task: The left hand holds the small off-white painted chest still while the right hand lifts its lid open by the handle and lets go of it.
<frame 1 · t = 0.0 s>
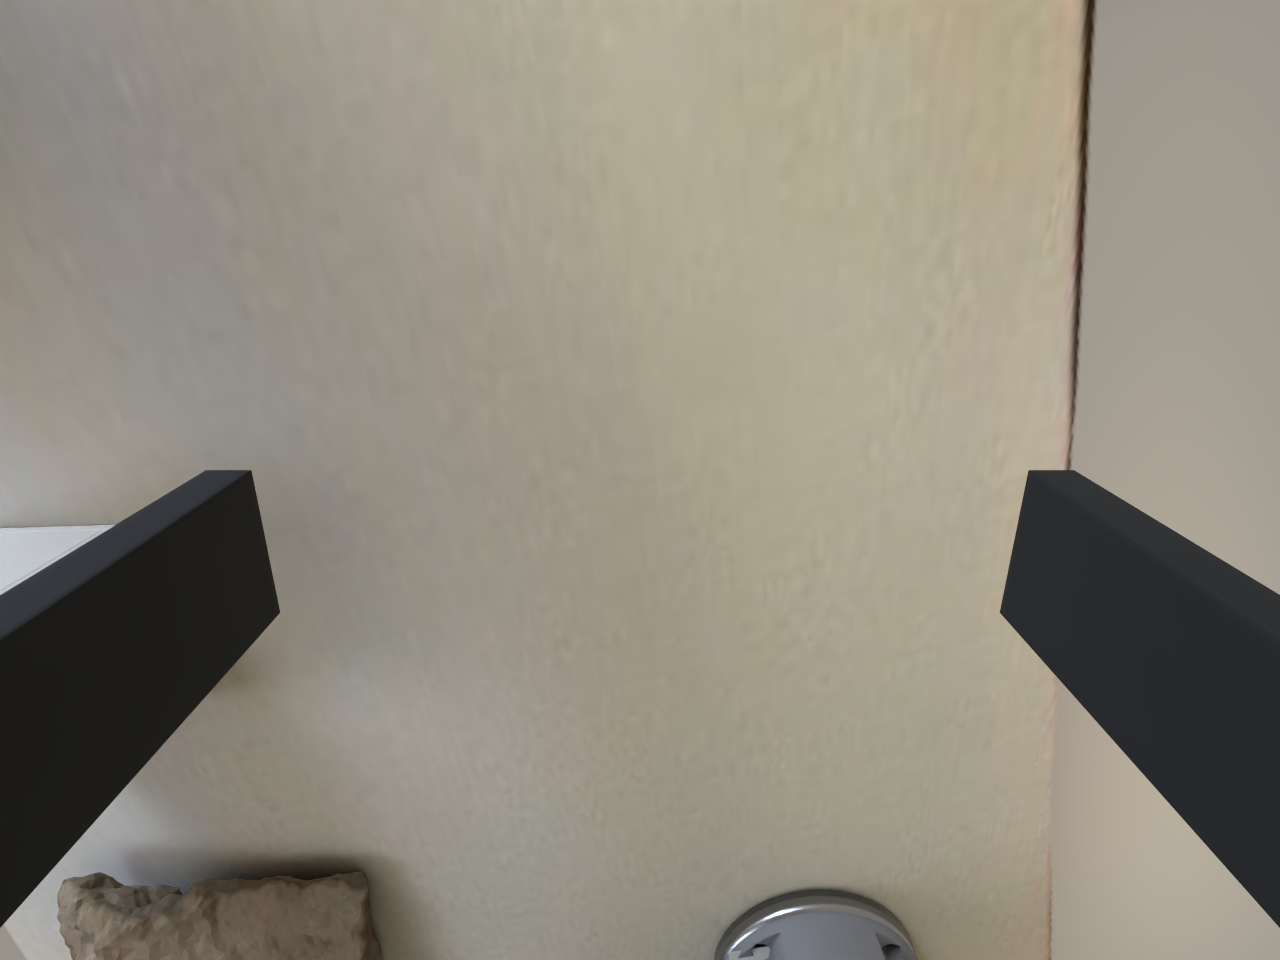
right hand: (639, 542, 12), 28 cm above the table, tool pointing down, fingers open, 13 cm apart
stone: (247, 922, 55), on the table
chest: (80, 618, 45), on the table
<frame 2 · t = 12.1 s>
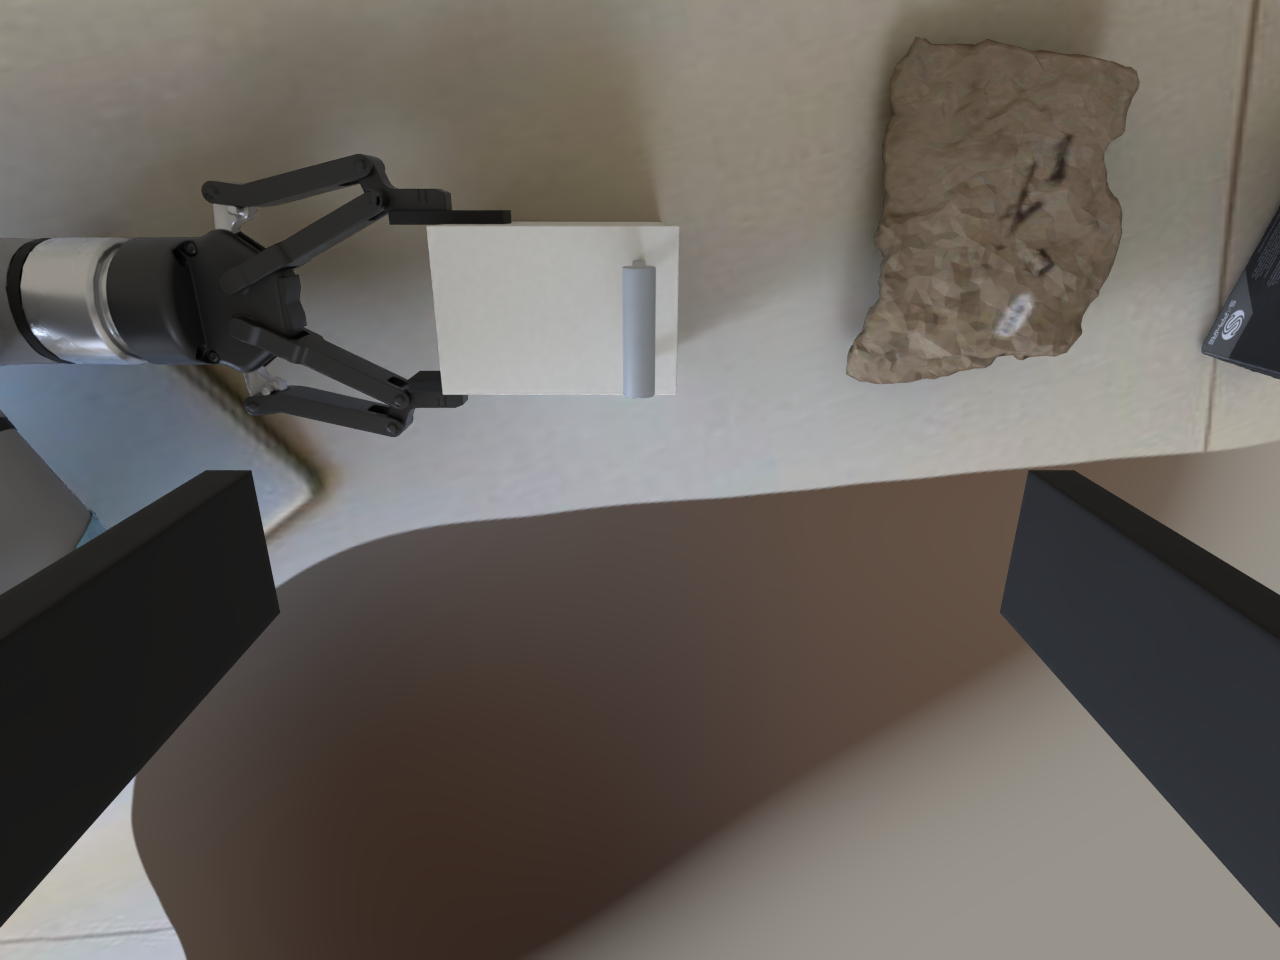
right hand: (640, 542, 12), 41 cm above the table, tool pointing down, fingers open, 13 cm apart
left hand: (512, 302, 44), fingers closed on chest, 9 cm apart
stone: (960, 222, 49), on the table
chest: (569, 290, 51), on the table, touching left hand
lid: (549, 322, 37), point 15 cm above the table, hinge at 0.0°
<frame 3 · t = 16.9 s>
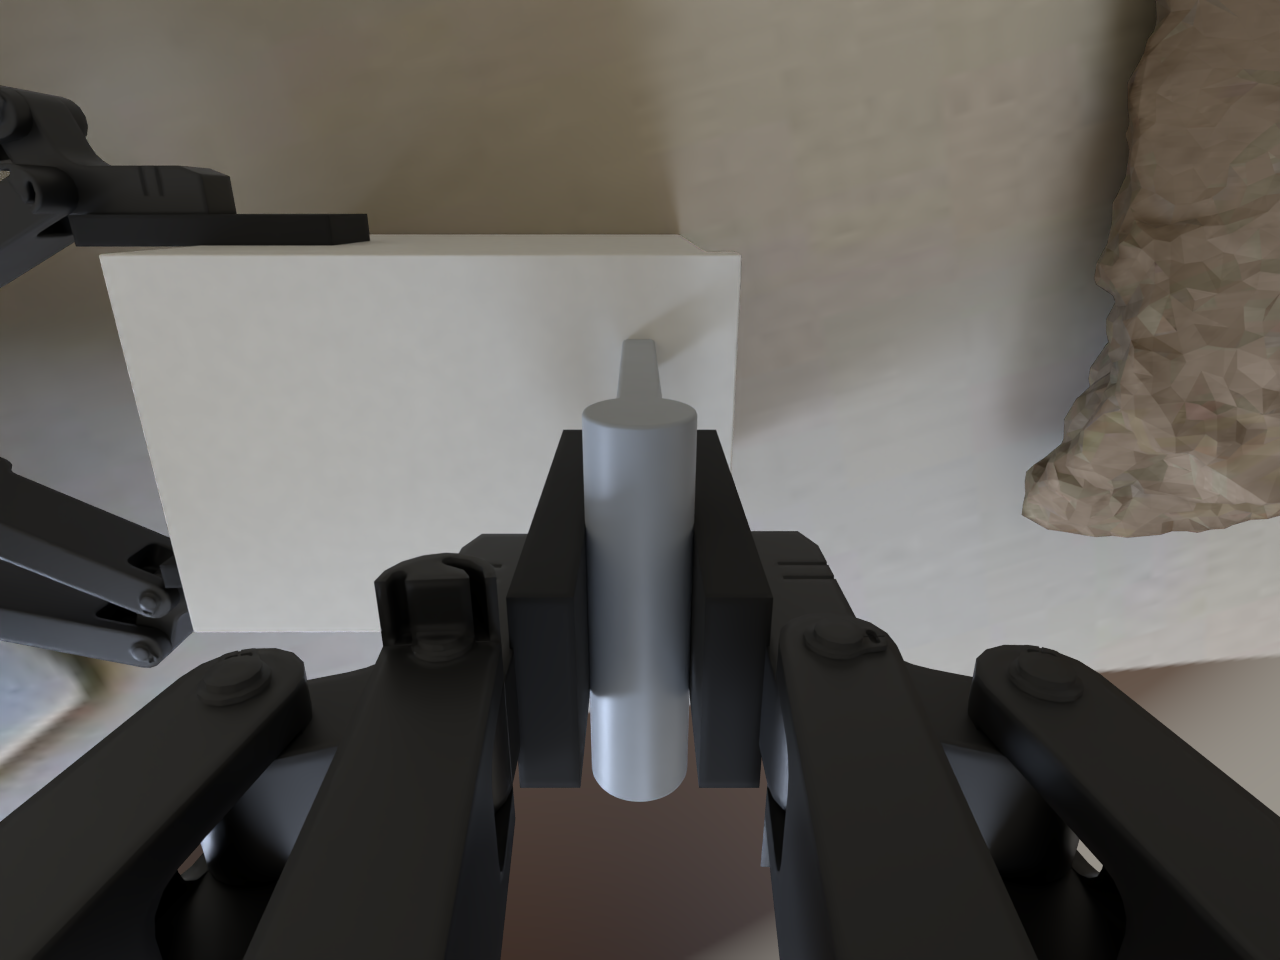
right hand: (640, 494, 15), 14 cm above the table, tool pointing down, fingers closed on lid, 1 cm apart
stone: (1247, 235, 26), on the table
chest: (512, 359, 28), on the table, touching left hand
lid: (399, 516, 14), point 15 cm above the table, hinge at -0.1°, touching right hand
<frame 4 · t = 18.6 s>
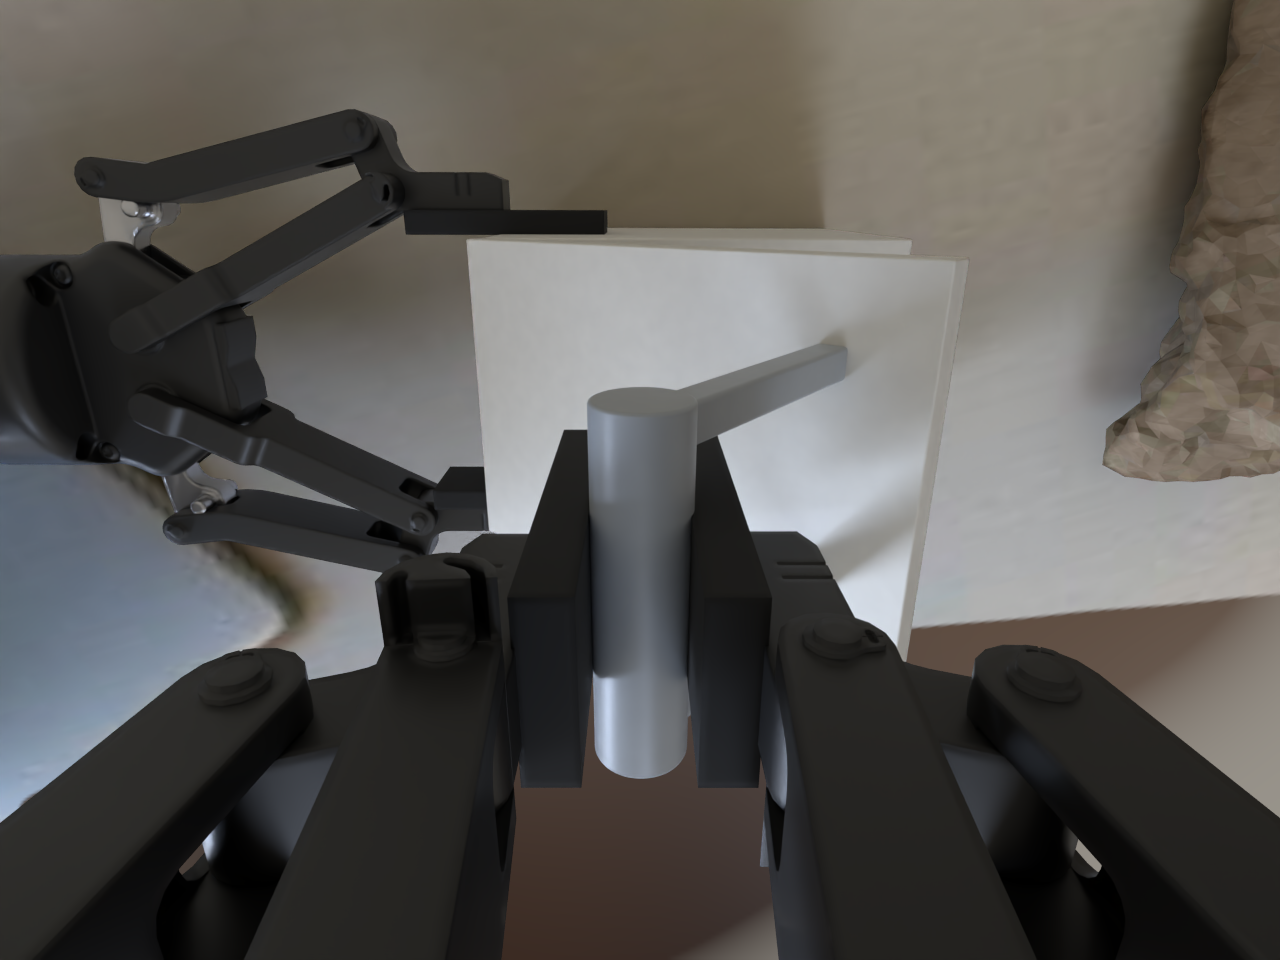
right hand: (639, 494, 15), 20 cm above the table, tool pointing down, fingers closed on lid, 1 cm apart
left hand: (607, 363, 27), fingers closed on chest, 9 cm apart
chest: (677, 333, 33), on the table, touching left hand
lid: (569, 468, 16), point 18 cm above the table, hinge at 37.3°, touching right hand
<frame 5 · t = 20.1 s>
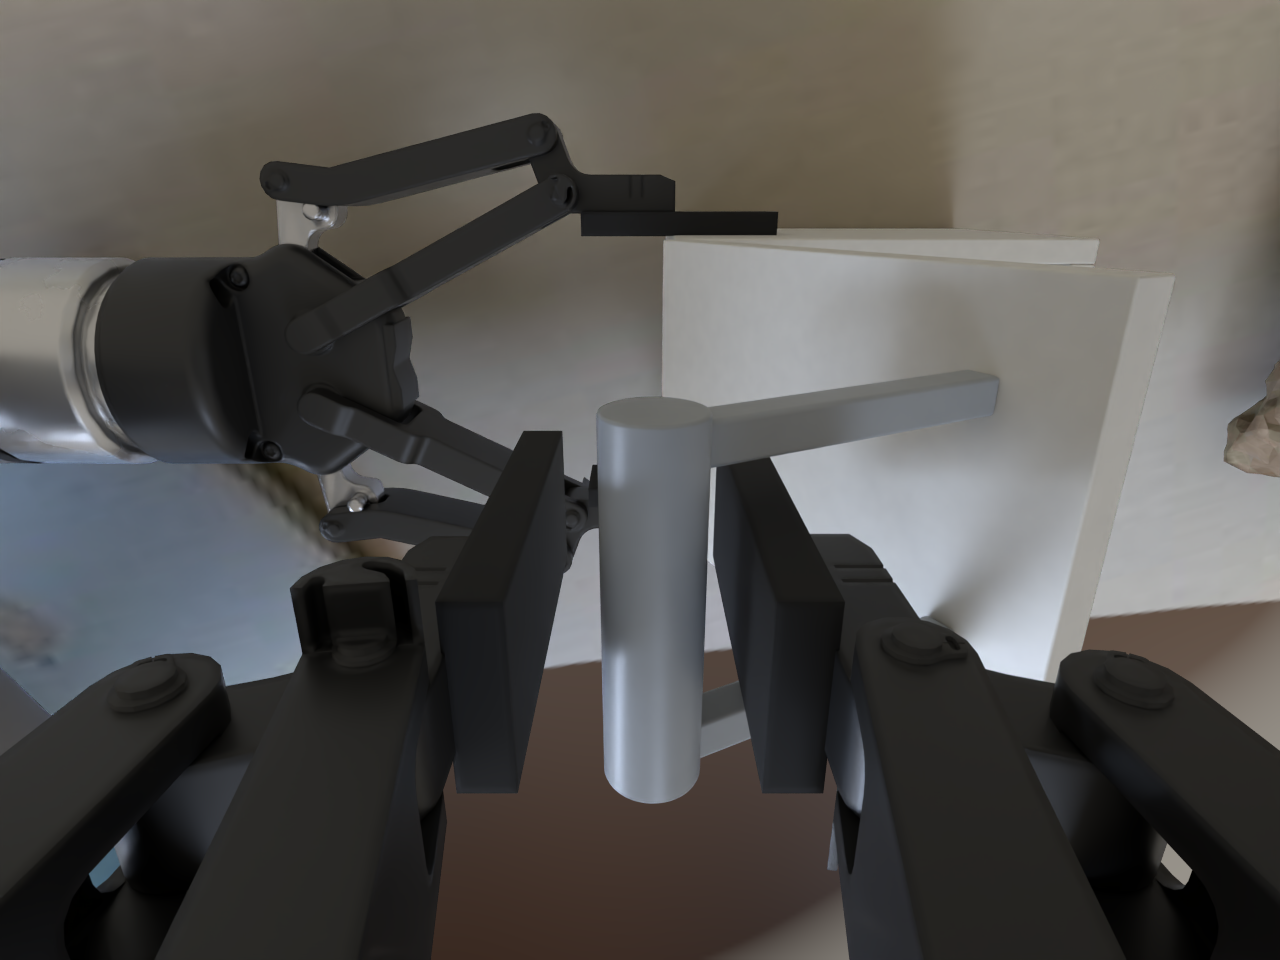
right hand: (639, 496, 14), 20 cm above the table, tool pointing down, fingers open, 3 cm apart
left hand: (761, 362, 27), fingers closed on chest, 9 cm apart
chest: (802, 332, 33), on the table, touching left hand
lid: (686, 474, 16), point 19 cm above the table, hinge at 61.9°
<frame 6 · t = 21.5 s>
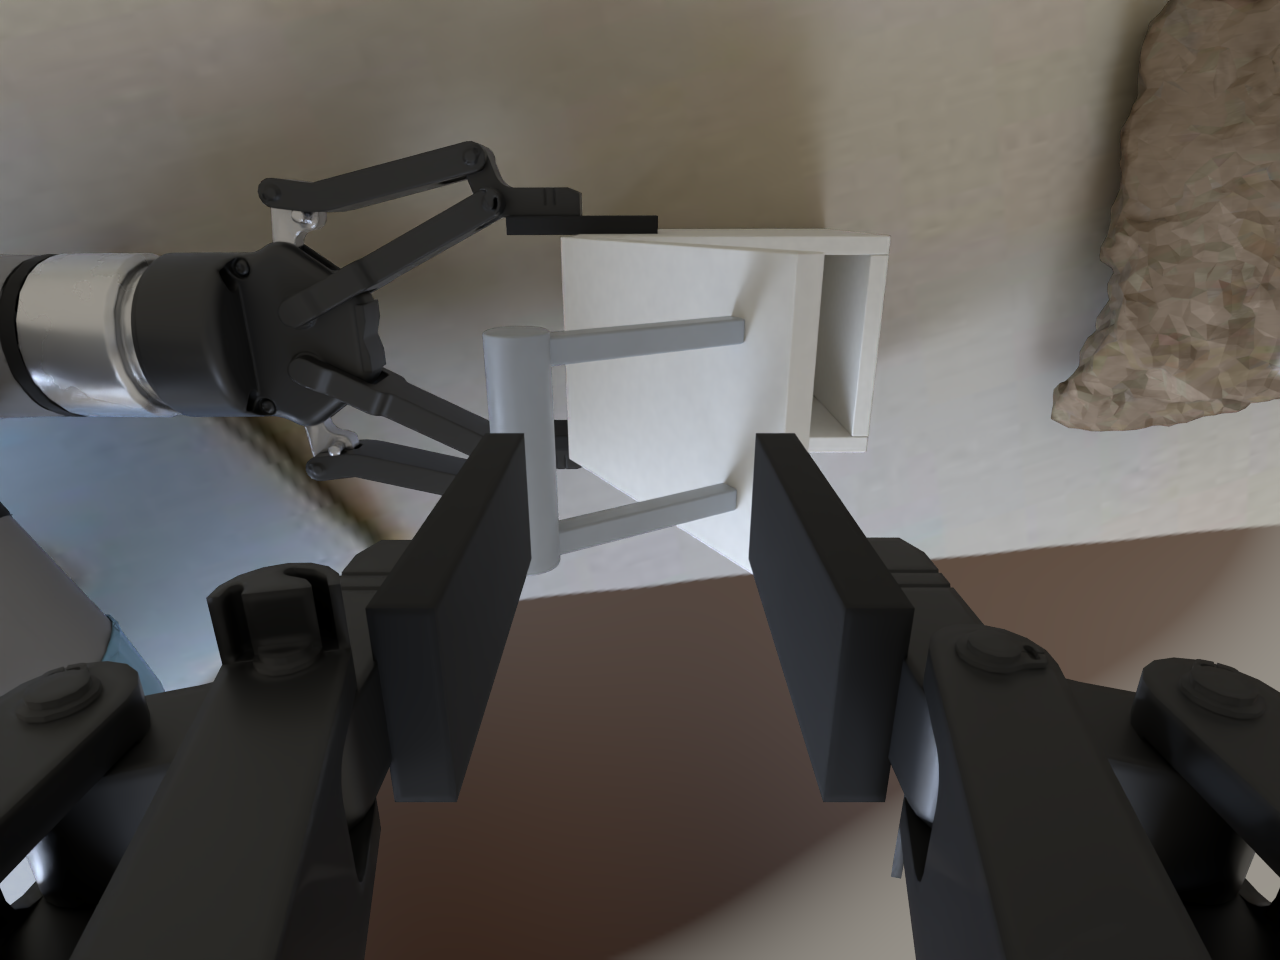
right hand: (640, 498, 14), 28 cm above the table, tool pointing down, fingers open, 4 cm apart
left hand: (656, 334, 34), fingers closed on chest, 9 cm apart
stone: (1200, 228, 39), on the table
chest: (705, 314, 40), on the table, touching left hand
lid: (566, 397, 23), point 19 cm above the table, hinge at 58.8°
when the left hand's fingers open (7 cm above the table, at t = 24.0 s): chest stays where it is, on the table.
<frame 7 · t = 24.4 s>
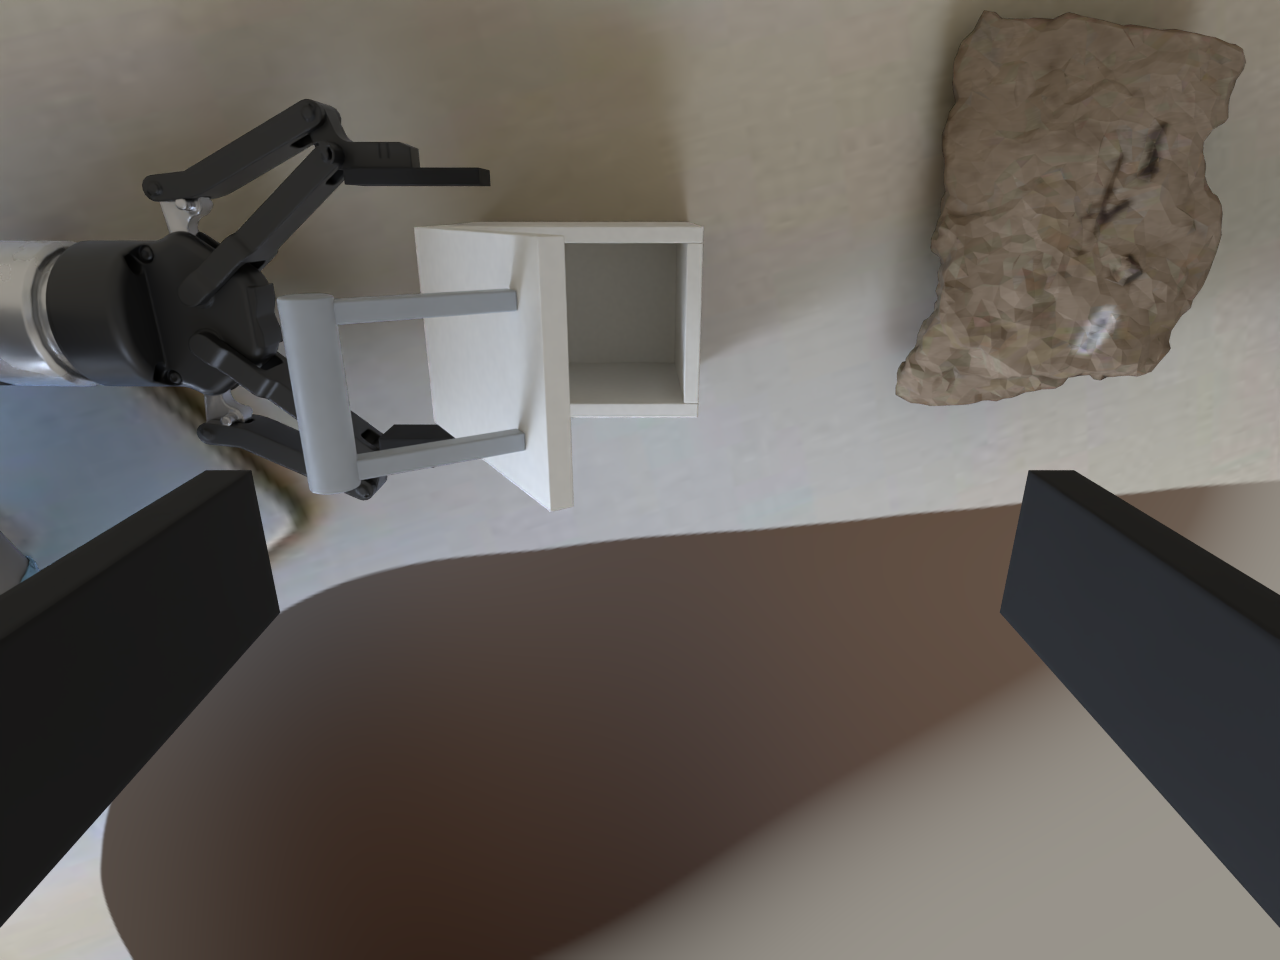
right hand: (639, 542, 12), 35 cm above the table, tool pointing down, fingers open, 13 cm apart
left hand: (495, 315, 38), fingers open, 13 cm apart
stone: (1026, 223, 43), on the table
chest: (584, 299, 45), on the table
lid: (393, 359, 27), point 19 cm above the table, hinge at 58.1°
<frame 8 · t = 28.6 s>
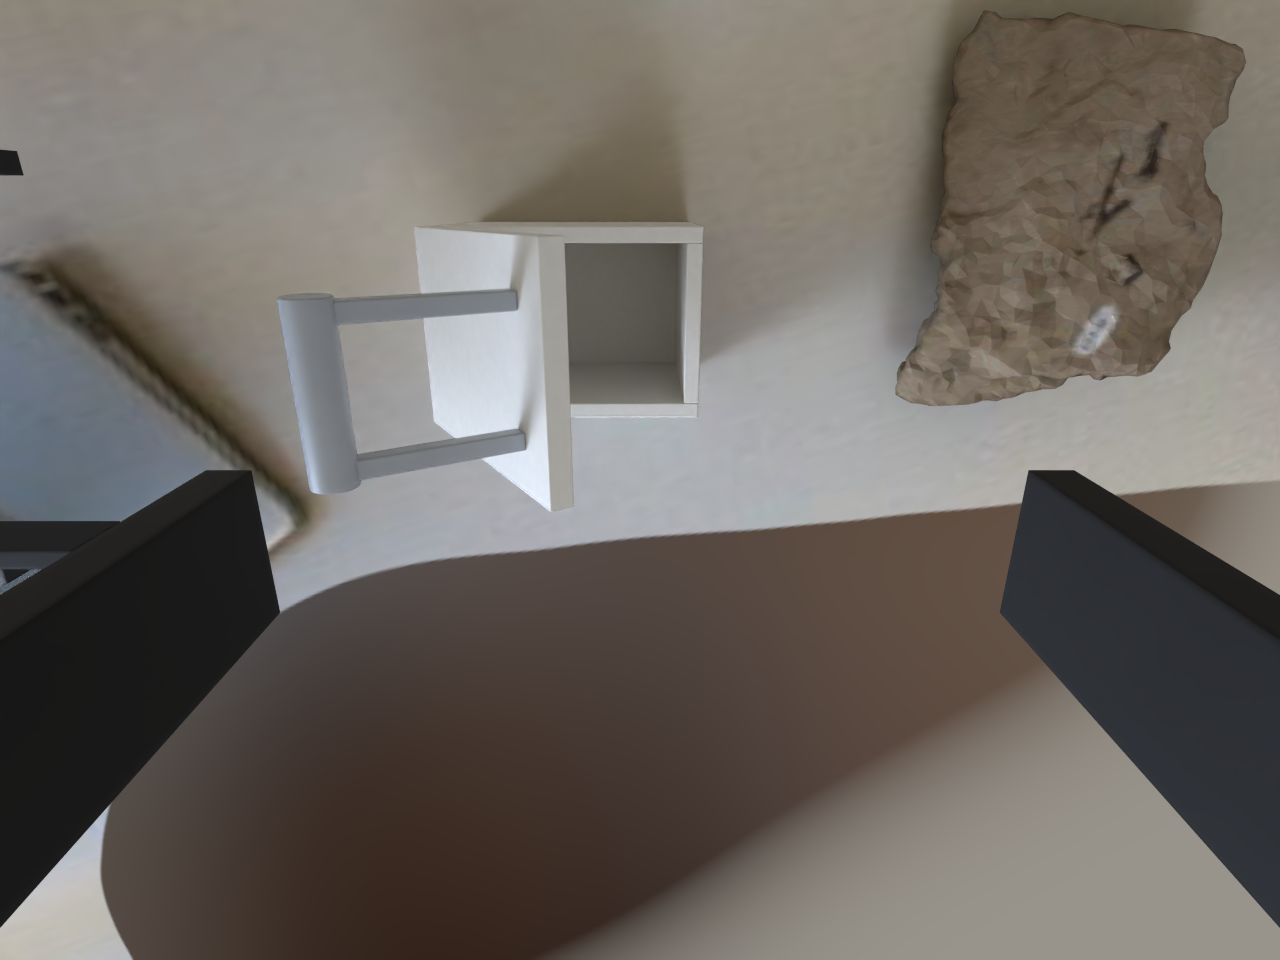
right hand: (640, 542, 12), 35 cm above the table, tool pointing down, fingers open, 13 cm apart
stone: (1026, 223, 43), on the table
chest: (584, 299, 45), on the table
lid: (393, 359, 27), point 19 cm above the table, hinge at 58.1°
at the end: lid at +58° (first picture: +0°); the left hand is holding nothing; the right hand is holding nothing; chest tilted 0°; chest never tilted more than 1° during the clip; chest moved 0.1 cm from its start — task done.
